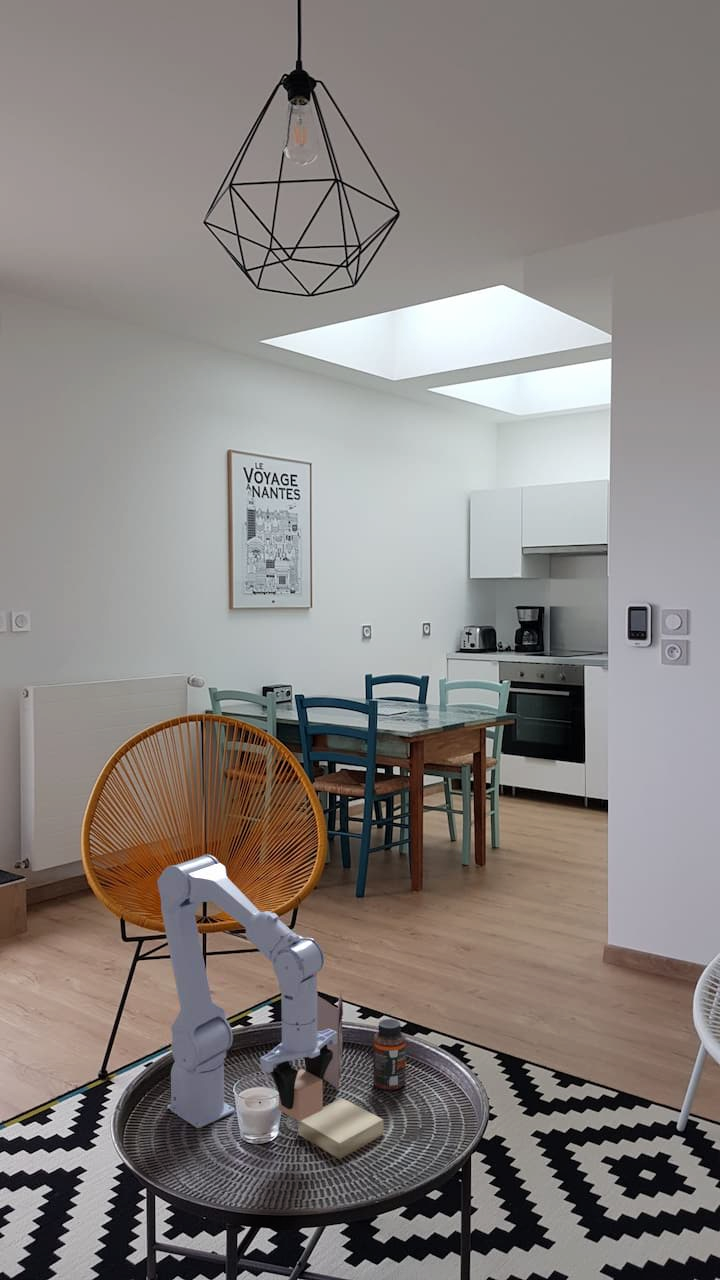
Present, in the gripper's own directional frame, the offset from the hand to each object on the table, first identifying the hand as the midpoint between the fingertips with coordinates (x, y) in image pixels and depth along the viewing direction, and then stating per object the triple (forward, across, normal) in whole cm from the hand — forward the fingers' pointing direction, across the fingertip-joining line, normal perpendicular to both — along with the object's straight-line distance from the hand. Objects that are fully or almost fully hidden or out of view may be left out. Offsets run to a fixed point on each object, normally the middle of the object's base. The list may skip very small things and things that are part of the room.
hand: (300, 1100), depth 161 cm
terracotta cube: (+2, 0, 0) cm, 2 cm away
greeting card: (+9, +20, +16) cm, 27 cm away
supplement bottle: (+9, +26, +5) cm, 28 cm away
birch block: (+9, +8, -1) cm, 12 cm away
